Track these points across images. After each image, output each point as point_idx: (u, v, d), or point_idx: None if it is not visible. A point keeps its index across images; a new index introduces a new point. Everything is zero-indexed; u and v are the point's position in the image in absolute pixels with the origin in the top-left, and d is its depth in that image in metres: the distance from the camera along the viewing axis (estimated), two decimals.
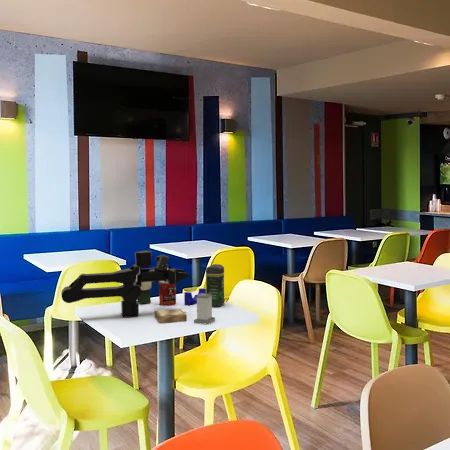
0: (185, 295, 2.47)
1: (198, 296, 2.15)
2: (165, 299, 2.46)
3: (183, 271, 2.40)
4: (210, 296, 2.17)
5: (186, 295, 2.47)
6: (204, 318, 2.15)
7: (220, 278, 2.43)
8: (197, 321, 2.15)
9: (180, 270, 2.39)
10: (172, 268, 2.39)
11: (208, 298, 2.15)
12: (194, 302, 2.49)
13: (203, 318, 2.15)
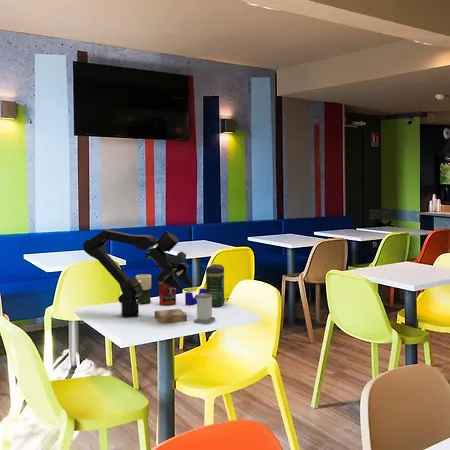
0: (186, 295, 2.47)
1: (198, 296, 2.15)
2: (165, 299, 2.46)
3: (190, 284, 2.24)
4: (210, 296, 2.17)
5: (187, 295, 2.47)
6: (204, 318, 2.15)
7: (220, 278, 2.43)
8: (197, 321, 2.15)
9: (189, 281, 2.24)
10: (185, 273, 2.25)
11: (208, 298, 2.15)
12: (195, 302, 2.49)
13: (203, 318, 2.15)
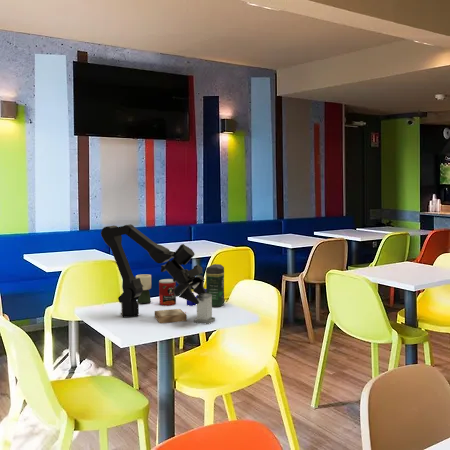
0: None
1: (198, 296, 2.15)
2: (165, 299, 2.46)
3: None
4: (210, 296, 2.17)
5: None
6: (204, 318, 2.15)
7: (220, 278, 2.43)
8: (197, 321, 2.15)
9: None
10: (201, 286, 2.23)
11: (208, 298, 2.15)
12: None
13: (203, 318, 2.15)
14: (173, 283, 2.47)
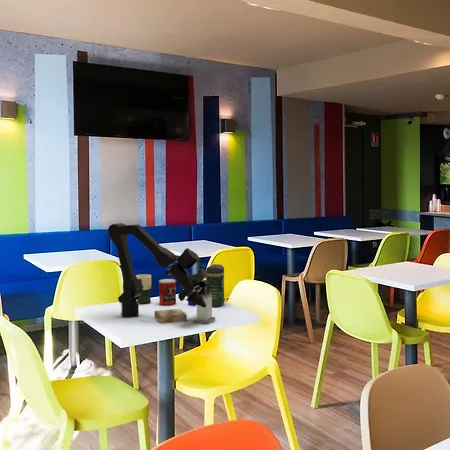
0: None
1: None
2: (165, 299, 2.46)
3: None
4: (210, 296, 2.17)
5: None
6: (204, 318, 2.15)
7: (220, 278, 2.43)
8: (197, 321, 2.15)
9: None
10: (204, 291, 2.20)
11: (208, 298, 2.15)
12: None
13: (203, 318, 2.15)
14: (173, 283, 2.47)
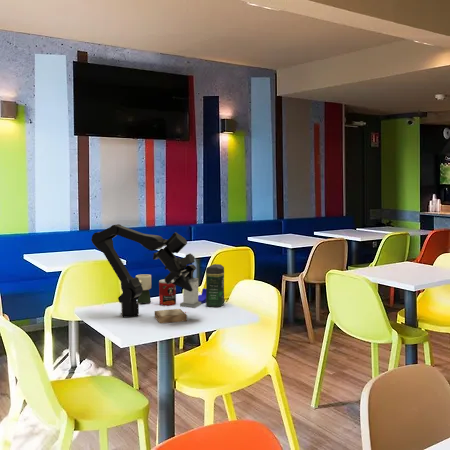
0: None
1: None
2: (165, 299, 2.46)
3: None
4: (197, 280, 2.18)
5: None
6: (190, 302, 2.17)
7: (220, 278, 2.43)
8: (183, 305, 2.17)
9: None
10: (191, 276, 2.21)
11: (195, 282, 2.17)
12: None
13: (189, 302, 2.17)
14: None
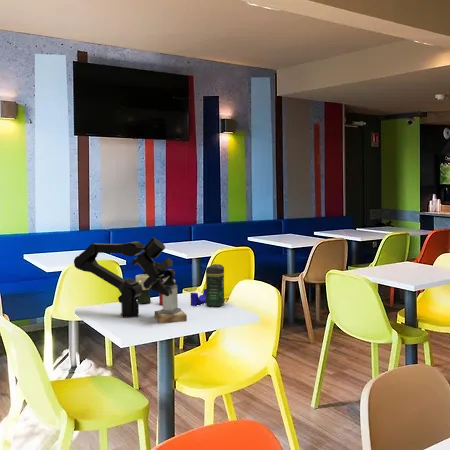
0: (191, 296, 2.46)
1: None
2: None
3: None
4: (175, 287, 2.22)
5: (192, 296, 2.45)
6: (169, 308, 2.20)
7: (220, 278, 2.43)
8: (163, 311, 2.20)
9: None
10: (171, 279, 2.26)
11: (173, 289, 2.20)
12: (200, 303, 2.48)
13: (168, 308, 2.20)
14: None
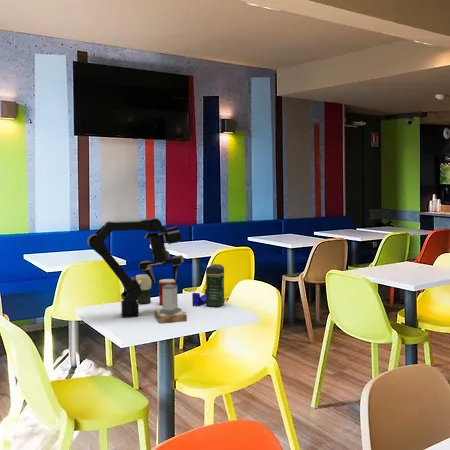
0: (193, 296, 2.45)
1: (163, 287, 2.20)
2: None
3: (154, 282, 2.34)
4: (175, 287, 2.22)
5: (194, 296, 2.45)
6: (169, 308, 2.20)
7: (220, 278, 2.43)
8: (163, 311, 2.20)
9: (154, 279, 2.34)
10: None
11: (173, 289, 2.20)
12: (202, 303, 2.47)
13: (168, 308, 2.20)
14: (173, 283, 2.47)
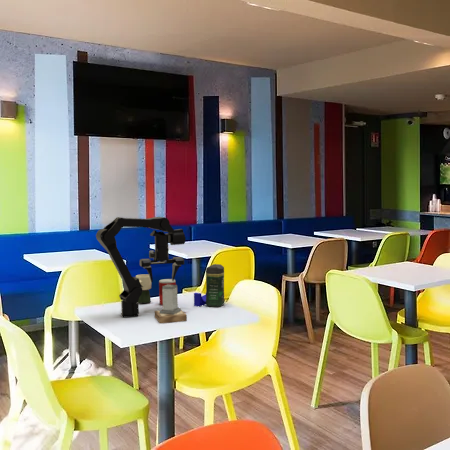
0: (195, 296, 2.45)
1: (163, 287, 2.20)
2: None
3: None
4: (175, 287, 2.22)
5: (196, 296, 2.45)
6: (169, 308, 2.20)
7: (220, 278, 2.43)
8: (163, 311, 2.20)
9: None
10: None
11: (173, 289, 2.20)
12: (203, 303, 2.47)
13: (168, 308, 2.20)
14: (173, 283, 2.47)
